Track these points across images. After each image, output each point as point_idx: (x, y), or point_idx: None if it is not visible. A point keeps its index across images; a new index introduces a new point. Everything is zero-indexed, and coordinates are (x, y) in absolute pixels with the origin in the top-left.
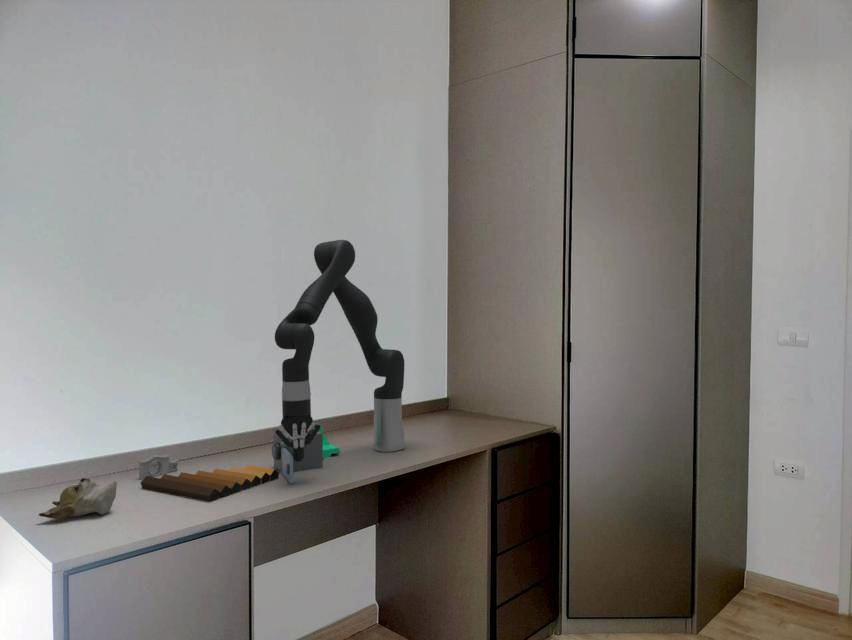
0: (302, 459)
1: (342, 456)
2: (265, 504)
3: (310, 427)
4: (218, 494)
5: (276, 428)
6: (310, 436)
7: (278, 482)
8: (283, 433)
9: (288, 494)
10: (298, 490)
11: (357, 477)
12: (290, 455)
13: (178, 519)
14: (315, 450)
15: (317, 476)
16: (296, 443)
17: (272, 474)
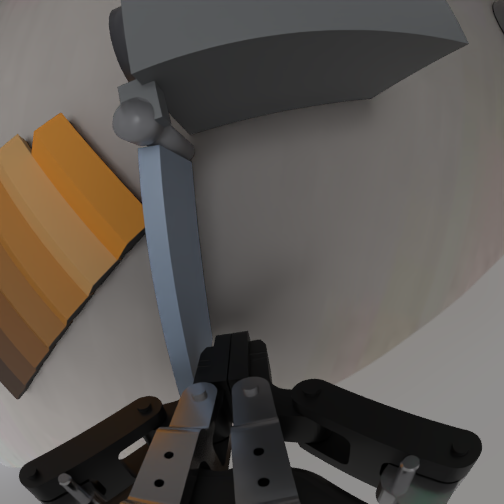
0: (289, 95)
1: None
2: None
3: (382, 495)
4: (27, 385)
5: (33, 491)
6: (342, 465)
7: None
8: (107, 499)
9: None
10: None
11: (440, 298)
12: (186, 385)
13: (27, 440)
14: (376, 74)
15: (328, 241)
16: (220, 451)
17: (125, 249)
